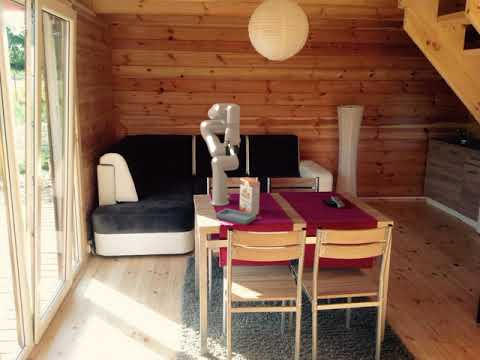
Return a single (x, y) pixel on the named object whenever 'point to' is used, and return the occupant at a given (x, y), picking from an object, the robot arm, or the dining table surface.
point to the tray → (236, 216)
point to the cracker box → (249, 195)
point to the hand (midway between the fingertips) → (232, 154)
